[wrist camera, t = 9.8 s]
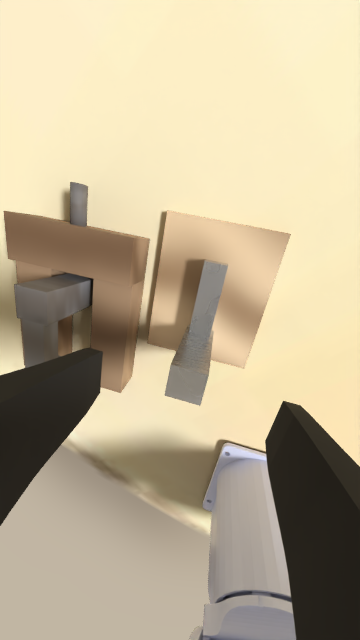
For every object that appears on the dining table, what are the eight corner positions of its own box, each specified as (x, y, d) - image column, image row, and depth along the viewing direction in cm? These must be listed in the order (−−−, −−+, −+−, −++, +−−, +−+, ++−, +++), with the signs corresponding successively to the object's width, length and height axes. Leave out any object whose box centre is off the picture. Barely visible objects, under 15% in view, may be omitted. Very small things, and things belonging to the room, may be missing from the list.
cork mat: (243, 365, 18) (244, 368, 17) (149, 340, 19) (147, 343, 18) (288, 234, 14) (290, 234, 14) (169, 211, 15) (167, 210, 15)
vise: (131, 376, 20) (96, 427, 15) (45, 351, 21) (-19, 391, 16) (154, 201, 15) (113, 178, 10) (38, 180, 16) (-60, 147, 10)
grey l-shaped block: (207, 353, 18) (200, 405, 12) (183, 347, 18) (164, 395, 12) (231, 264, 15) (235, 278, 9) (202, 258, 15) (190, 267, 10)
